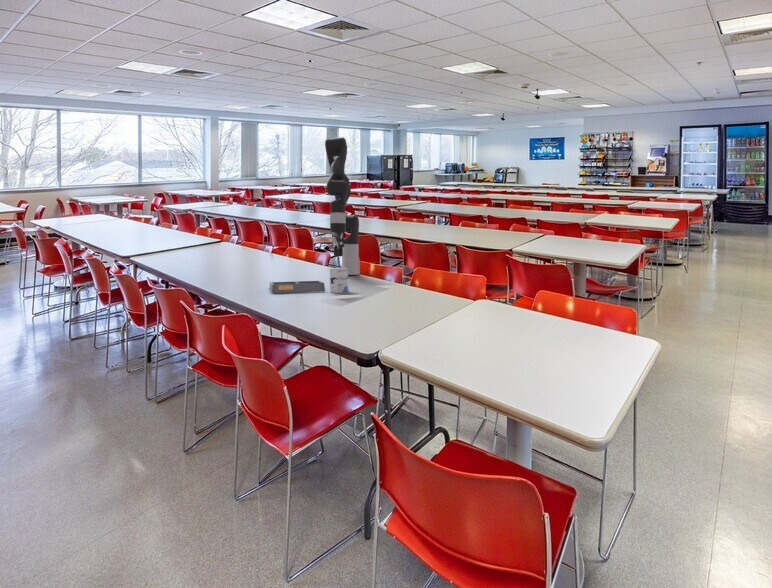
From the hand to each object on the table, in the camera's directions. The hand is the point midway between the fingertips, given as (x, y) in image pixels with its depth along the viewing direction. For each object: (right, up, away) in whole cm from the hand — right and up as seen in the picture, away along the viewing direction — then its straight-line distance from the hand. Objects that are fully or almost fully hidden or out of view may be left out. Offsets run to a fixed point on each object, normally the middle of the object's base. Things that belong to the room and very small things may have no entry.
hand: (338, 256), depth 233 cm
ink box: (0, -18, +2) cm, 18 cm away
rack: (-21, -17, +6) cm, 28 cm away
